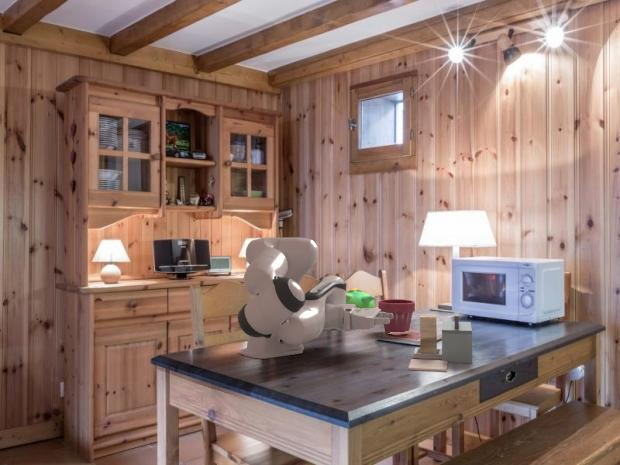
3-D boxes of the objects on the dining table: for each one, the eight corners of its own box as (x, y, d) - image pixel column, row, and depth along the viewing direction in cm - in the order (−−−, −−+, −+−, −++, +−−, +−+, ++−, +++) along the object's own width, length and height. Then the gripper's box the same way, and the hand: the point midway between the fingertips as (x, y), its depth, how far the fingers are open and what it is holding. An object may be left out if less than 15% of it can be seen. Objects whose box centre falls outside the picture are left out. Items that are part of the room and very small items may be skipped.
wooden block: (436, 357, 181) (435, 317, 180) (420, 357, 182) (419, 317, 182) (436, 354, 185) (436, 314, 185) (421, 353, 187) (420, 314, 187)
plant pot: (416, 330, 227) (416, 299, 227) (413, 337, 214) (413, 303, 214) (381, 329, 231) (381, 298, 231) (376, 336, 218) (375, 303, 218)
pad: (446, 371, 163) (446, 369, 163) (408, 369, 166) (408, 367, 166) (447, 362, 174) (447, 360, 174) (411, 361, 177) (411, 359, 177)
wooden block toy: (472, 363, 173) (471, 317, 172) (412, 360, 177) (412, 316, 177) (471, 351, 188) (470, 310, 188) (416, 349, 193) (415, 308, 192)
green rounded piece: (372, 317, 262) (371, 286, 261) (377, 323, 245) (377, 290, 245) (333, 318, 261) (332, 286, 261) (336, 324, 244) (335, 290, 244)
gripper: (355, 321, 200) (395, 322, 196) (344, 332, 180) (387, 333, 177) (355, 303, 200) (394, 304, 196) (344, 312, 180) (387, 313, 176)
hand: (391, 318), depth 186 cm, fingers open, 8 cm apart
